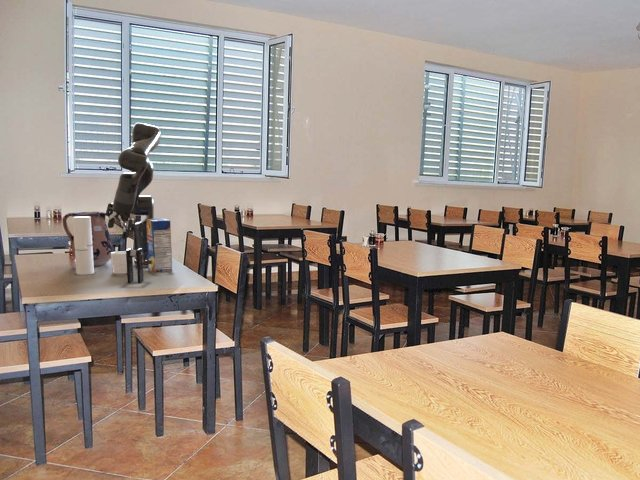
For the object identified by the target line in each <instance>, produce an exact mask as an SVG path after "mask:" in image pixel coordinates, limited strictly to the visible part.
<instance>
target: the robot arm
mask: <svg viewBox="0 0 640 480" xmlns="http://www.w3.org/2000/svg"><path fill="white" fill-rule="evenodd" d="M131 131H132V132H131V143H132V144H131V145H130V147H128V148H125V149H123V150H122V151H121V152H120V154H119V155H118V158H117V163H118V165H119V167H120V168H122V169H124V170H128V171H130V172H123V173H121V174H120V175H119V179H118V184H117V187H116V191H115V195H114V198H113V202H110V203H108V204H107V207H106V211H105V213H106V217H107V219H108V222H107V228H108V229H113V228H114V226H115V222H116V220H117V222H119V223H120V226H121V227H122V229H123V231H122V235H121V239H122V240H125V239H128V238H129V236H130V233H132V234H133V250H138V249H142V259H143V260H148V244H147V222H146V219H155V217H154V215H155V204H154V203H155V201H154V198H153V197H152V196H151V195H141V193H142V192H143V191H145V189H147V187H149V185H150V184H151V183H152V181H153V179H154V165H153V162H152V161H151V159H150V158H149V154H150V153H151V152H153V151H154V150H155V149H156V148H158V146H159V145H160V142H161V137H162V131H161V129H160V127H158V126H155V125H152V124H147V123H142V122H136V123H135V124H134V125H133V127H132V130H131ZM132 216H137V217H139V216H140V217H141V216H142V217H143V216H145V218H144V219H142V220H141V221H137V219H136V218H132ZM134 260H137V258H135V257H134ZM134 267H136V268H137V264H134ZM143 268H149V265H148V264H143Z"/></svg>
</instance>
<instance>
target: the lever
mask: <svg viewBox="0 0 640 480" xmlns="http://www.w3.org/2000/svg"><path fill="white" fill-rule="evenodd" d="M130 256H131V257H132V258H134V261H133V265H135V264H137V260H135V258H137V257H136V250H134V249H132V250H131V251H130ZM143 264H152V260H143Z"/></svg>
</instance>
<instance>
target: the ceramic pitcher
mask: <svg viewBox="0 0 640 480" xmlns="http://www.w3.org/2000/svg"><path fill="white" fill-rule="evenodd" d="M78 216H89V217H91V229H92V245H93V262H94V267H100V266H103V265H106V264H107V263H108V262H110V260H111V253H112V252H114V244H113V241H112V238H111V237H112V236H111V235H110V231H109V228H108V224H107V221H106V217H107V216H106V212H103V211H102V212H100V211H83V212H82V211H81V212H67V213H66V214H65V215H64V216H63V218H62V227H63V229H64V231H65V234H66V235H67V237H68V238H69V240H70V248H71V251H72V256H73V258H74V259H75V245H74V235H73V234H72V232H71V231H70V228H69V226H68V222H67V220H68V218H70V217H72V218H73V217H78Z"/></svg>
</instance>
